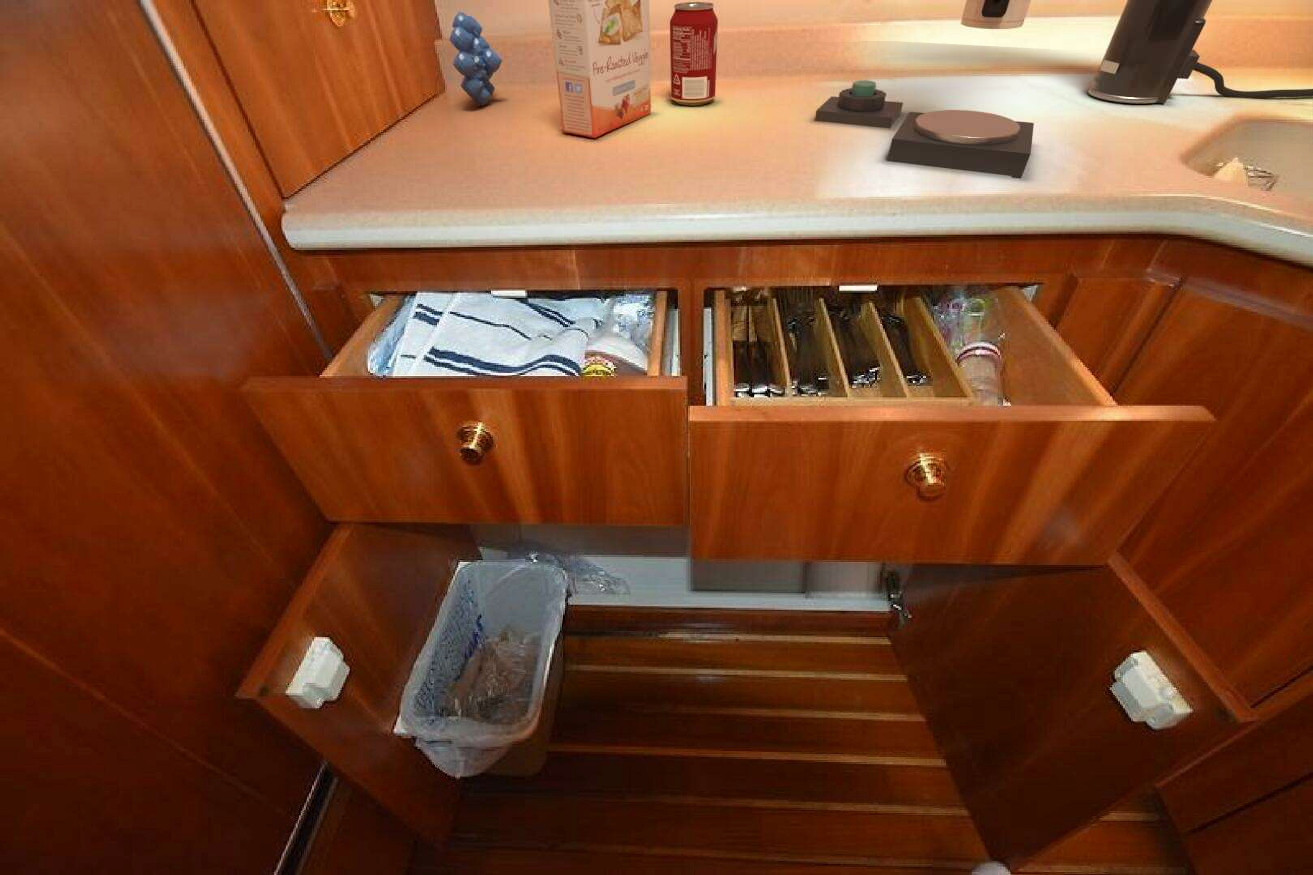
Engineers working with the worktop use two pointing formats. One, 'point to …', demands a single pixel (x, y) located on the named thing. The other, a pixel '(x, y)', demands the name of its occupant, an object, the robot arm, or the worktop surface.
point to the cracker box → (601, 63)
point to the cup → (1008, 21)
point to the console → (860, 110)
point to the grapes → (474, 58)
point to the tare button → (863, 88)
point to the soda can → (693, 53)
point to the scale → (963, 142)
